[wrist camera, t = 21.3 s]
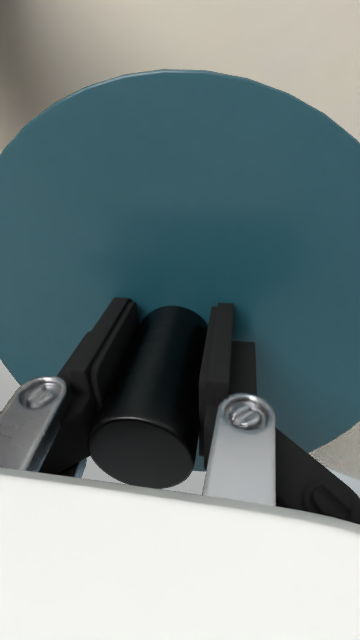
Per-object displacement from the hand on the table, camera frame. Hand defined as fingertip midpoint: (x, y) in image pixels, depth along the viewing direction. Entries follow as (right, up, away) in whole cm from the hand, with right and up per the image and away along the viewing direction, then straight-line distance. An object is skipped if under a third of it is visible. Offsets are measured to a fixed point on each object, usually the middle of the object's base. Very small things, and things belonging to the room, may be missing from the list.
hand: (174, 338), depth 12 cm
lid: (0, 0, +1) cm, 1 cm away
